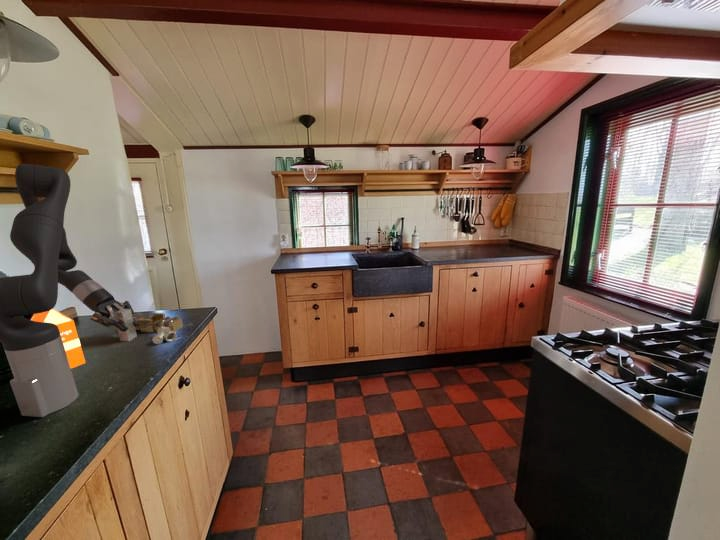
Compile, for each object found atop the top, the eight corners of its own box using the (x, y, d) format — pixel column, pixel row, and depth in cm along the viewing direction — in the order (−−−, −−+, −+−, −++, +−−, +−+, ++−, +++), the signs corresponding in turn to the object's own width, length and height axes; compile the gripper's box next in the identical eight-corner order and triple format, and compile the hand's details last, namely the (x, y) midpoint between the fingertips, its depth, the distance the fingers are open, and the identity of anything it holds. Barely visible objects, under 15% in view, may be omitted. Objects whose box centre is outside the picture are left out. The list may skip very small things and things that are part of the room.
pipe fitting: (157, 348, 103) (177, 339, 108) (153, 338, 102) (175, 329, 107) (148, 341, 108) (169, 333, 113) (145, 332, 107) (166, 324, 112)
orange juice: (74, 356, 98) (57, 298, 93) (86, 362, 94) (69, 303, 89) (41, 368, 92) (21, 307, 87) (52, 375, 87) (32, 312, 83)
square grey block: (128, 341, 108) (122, 312, 105) (120, 340, 108) (113, 312, 105) (137, 336, 111) (130, 309, 108) (128, 336, 111) (122, 308, 109)
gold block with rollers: (172, 333, 113) (169, 321, 112) (122, 331, 116) (119, 319, 115) (184, 325, 120) (182, 313, 119) (137, 323, 123) (135, 312, 121)
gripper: (77, 294, 99) (118, 329, 100) (116, 282, 112) (151, 313, 114) (67, 309, 101) (108, 343, 102) (107, 295, 114) (142, 325, 116)
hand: (131, 327), depth 108 cm, fingers closed on square grey block, 3 cm apart
